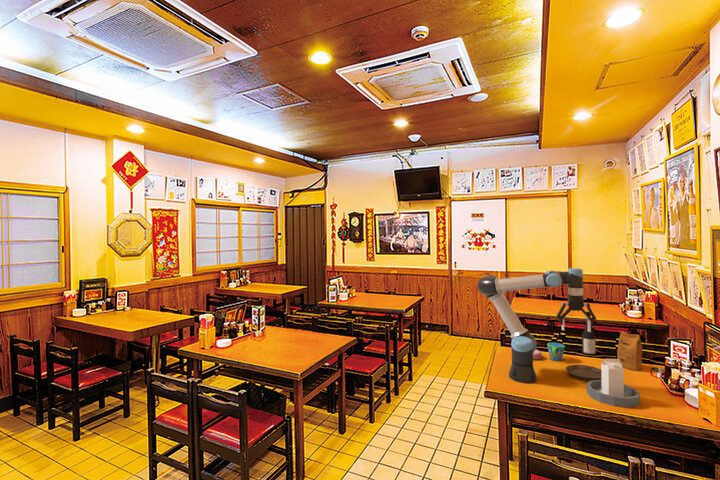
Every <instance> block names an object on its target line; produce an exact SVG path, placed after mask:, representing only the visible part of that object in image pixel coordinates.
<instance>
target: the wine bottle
mask: <svg viewBox="0 0 720 480" xmlns="http://www.w3.org/2000/svg"><path fill="white" fill-rule="evenodd" d="M585 312H586V313H587V314H588V315H589V316H590V317H591V318H592V316H591V314H590V313H589V311H585ZM585 316H586V315H585ZM585 319H586V320H585V323H586V324H585V326H584V327H585V328H584V330H583V331H582V335H581V351H582V353H583V355H586V356H594V355H596V336H595V332H594V330H593V328H592V327H591V332H589V331H588V320H589V319H588V317H587V316H586V317H585Z"/></svg>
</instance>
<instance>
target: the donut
mask: <svg viewBox="0 0 720 480" xmlns="http://www.w3.org/2000/svg"><path fill="white" fill-rule="evenodd" d="M542 357H543V355H542V353H541V351H540V350H538V349H536V350H535V351H534V353H533V360H540V359H541V358H542Z"/></svg>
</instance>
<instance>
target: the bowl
mask: <svg viewBox="0 0 720 480" xmlns="http://www.w3.org/2000/svg"><path fill="white" fill-rule="evenodd" d="M587 382H588V383H586V393H587V395H588V396H589V397H590V398H591V399H593V400H595V401H597V402H599V403H601V404H605V405H609V406H613V407H619V408H634V407H639V405H640V403H641V393H640V392H639V391H638V390H637V389H636V388H634V387H632V386H630V385H627V384H625V383H624V397H617V396H612V395H608V394H604V393H603V392H602V382H601V380H594V381H587Z"/></svg>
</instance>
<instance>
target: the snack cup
mask: <svg viewBox="0 0 720 480" xmlns="http://www.w3.org/2000/svg"><path fill="white" fill-rule="evenodd" d="M565 347H566V346H565V345H564V344H562V343H559V342H548V343H547V350H548V355H549V358H550V360H551V361H552V360H553V361H557V362H561V361H562V360H563V358H564V351H565V349H566V348H565Z"/></svg>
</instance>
